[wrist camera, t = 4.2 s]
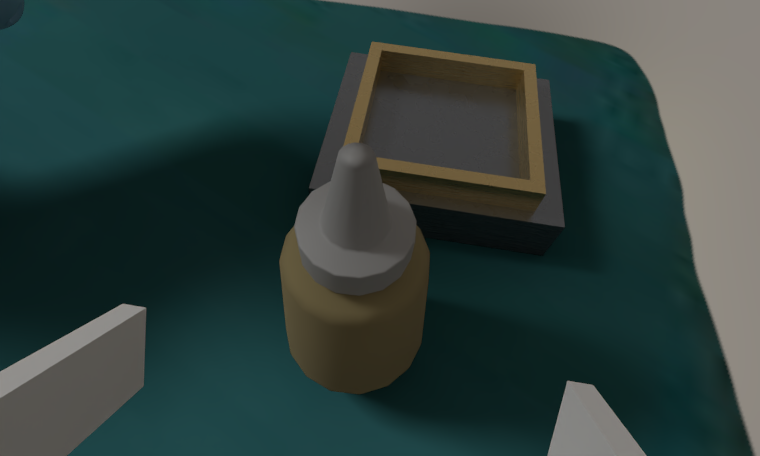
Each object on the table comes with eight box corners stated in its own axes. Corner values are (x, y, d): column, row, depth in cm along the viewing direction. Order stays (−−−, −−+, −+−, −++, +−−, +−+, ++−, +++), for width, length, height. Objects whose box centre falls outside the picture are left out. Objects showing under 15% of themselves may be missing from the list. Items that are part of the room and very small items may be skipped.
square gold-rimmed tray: (313, 219, 33) (305, 169, 28) (351, 88, 42) (351, 31, 37) (542, 255, 32) (577, 210, 27) (532, 114, 41) (558, 60, 36)
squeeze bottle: (439, 335, 28) (537, 150, 13) (360, 437, 25) (372, 341, 10) (350, 265, 31) (347, 43, 16) (267, 348, 27) (160, 162, 12)
